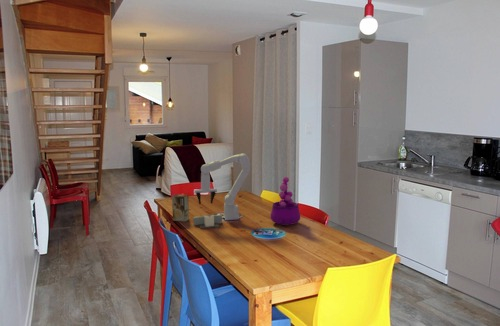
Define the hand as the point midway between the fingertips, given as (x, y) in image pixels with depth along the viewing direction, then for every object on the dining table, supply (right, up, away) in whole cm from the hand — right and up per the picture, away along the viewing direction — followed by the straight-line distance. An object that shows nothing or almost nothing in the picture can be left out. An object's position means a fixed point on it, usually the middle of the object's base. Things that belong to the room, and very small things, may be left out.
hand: (205, 203), depth 271 cm
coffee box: (-16, -11, 0) cm, 19 cm away
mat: (+4, -13, -14) cm, 19 cm away
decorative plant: (+51, -12, -8) cm, 53 cm away
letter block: (+4, -12, -14) cm, 19 cm away
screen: (+2, -12, -9) cm, 15 cm away
